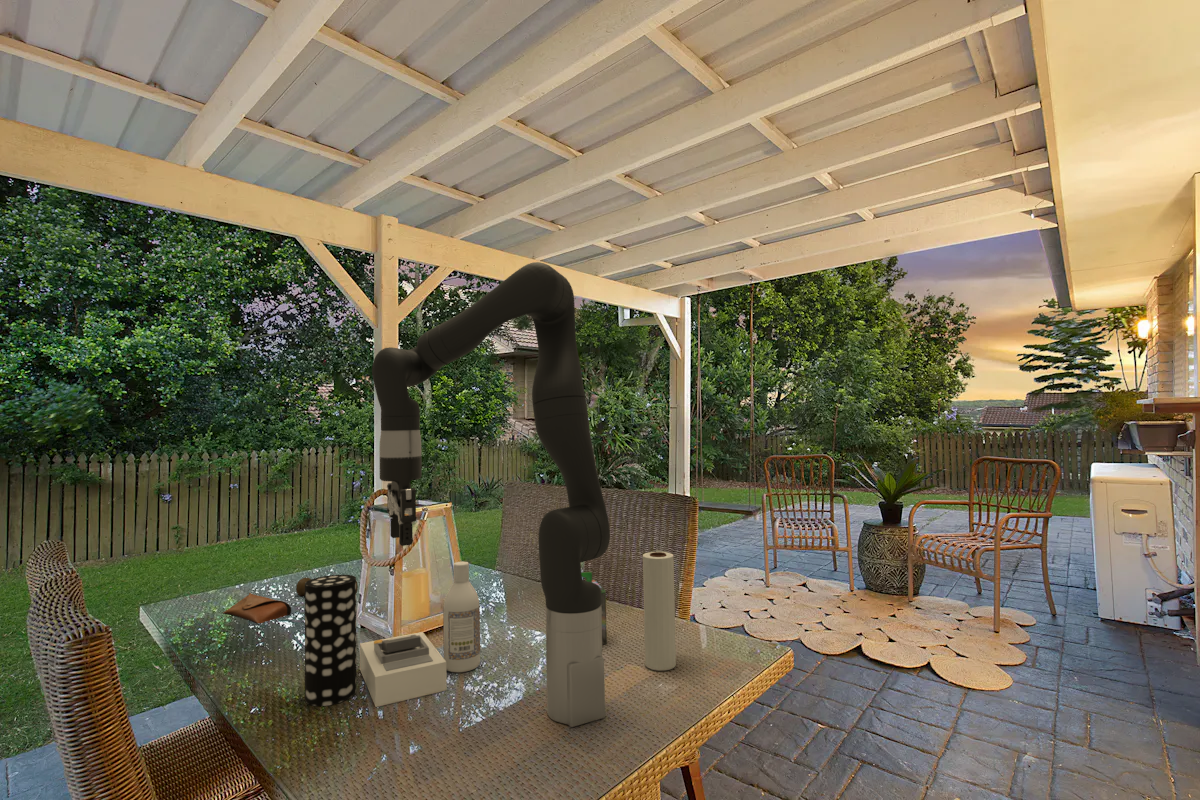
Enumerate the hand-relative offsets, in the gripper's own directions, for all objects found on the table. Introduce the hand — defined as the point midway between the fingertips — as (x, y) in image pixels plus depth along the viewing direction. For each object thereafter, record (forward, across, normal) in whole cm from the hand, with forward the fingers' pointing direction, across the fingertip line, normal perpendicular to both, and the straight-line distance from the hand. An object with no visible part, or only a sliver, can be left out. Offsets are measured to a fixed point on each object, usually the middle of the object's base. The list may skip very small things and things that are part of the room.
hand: (401, 541), depth 113 cm
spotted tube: (+26, 0, +12) cm, 28 cm away
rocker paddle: (+19, 0, 0) cm, 19 cm away
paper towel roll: (+26, -20, -45) cm, 56 cm away
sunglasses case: (+27, +60, +24) cm, 70 cm away
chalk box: (+26, 0, -38) cm, 46 cm away
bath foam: (+26, 0, -11) cm, 28 cm away
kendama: (+26, +65, +7) cm, 70 cm away
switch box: (+26, 0, 0) cm, 26 cm away
